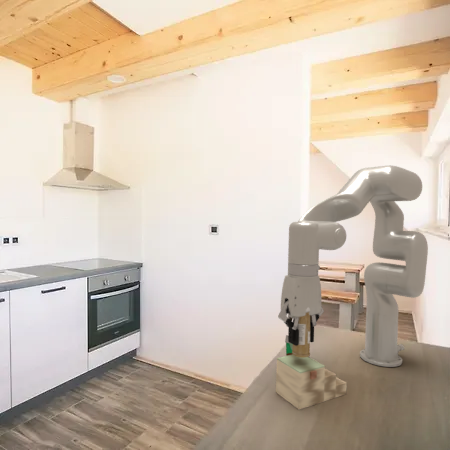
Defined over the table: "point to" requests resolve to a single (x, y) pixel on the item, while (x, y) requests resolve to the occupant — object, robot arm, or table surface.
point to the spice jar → (303, 336)
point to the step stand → (306, 381)
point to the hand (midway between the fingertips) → (301, 341)
